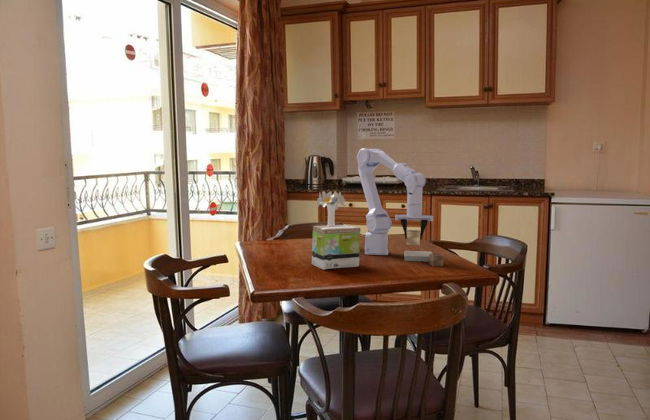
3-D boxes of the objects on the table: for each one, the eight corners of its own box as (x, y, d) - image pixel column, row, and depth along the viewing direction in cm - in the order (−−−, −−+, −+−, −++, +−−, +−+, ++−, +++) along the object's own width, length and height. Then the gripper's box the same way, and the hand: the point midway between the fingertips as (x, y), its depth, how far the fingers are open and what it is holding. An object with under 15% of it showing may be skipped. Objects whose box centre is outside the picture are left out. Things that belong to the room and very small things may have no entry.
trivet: (404, 260, 196) (404, 255, 196) (404, 255, 207) (404, 250, 207) (433, 261, 195) (433, 256, 194) (431, 256, 206) (431, 251, 205)
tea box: (323, 270, 178) (324, 229, 177) (311, 265, 187) (311, 225, 185) (360, 266, 185) (361, 226, 184) (346, 261, 194) (347, 223, 192)
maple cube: (406, 244, 195) (407, 231, 194) (406, 242, 200) (407, 229, 199) (419, 245, 194) (420, 232, 193) (419, 242, 199) (420, 230, 198)
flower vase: (342, 242, 236) (343, 189, 233) (346, 250, 218) (347, 192, 215) (314, 242, 235) (315, 189, 233) (316, 250, 217) (316, 192, 214)
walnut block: (432, 266, 187) (433, 255, 187) (429, 264, 191) (429, 253, 190) (443, 266, 187) (443, 255, 187) (439, 264, 191) (439, 253, 191)
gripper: (395, 204, 193) (394, 239, 194) (434, 205, 191) (433, 241, 192) (395, 203, 200) (394, 237, 201) (433, 204, 197) (431, 238, 199)
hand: (413, 238), depth 197 cm, fingers closed on maple cube, 5 cm apart
